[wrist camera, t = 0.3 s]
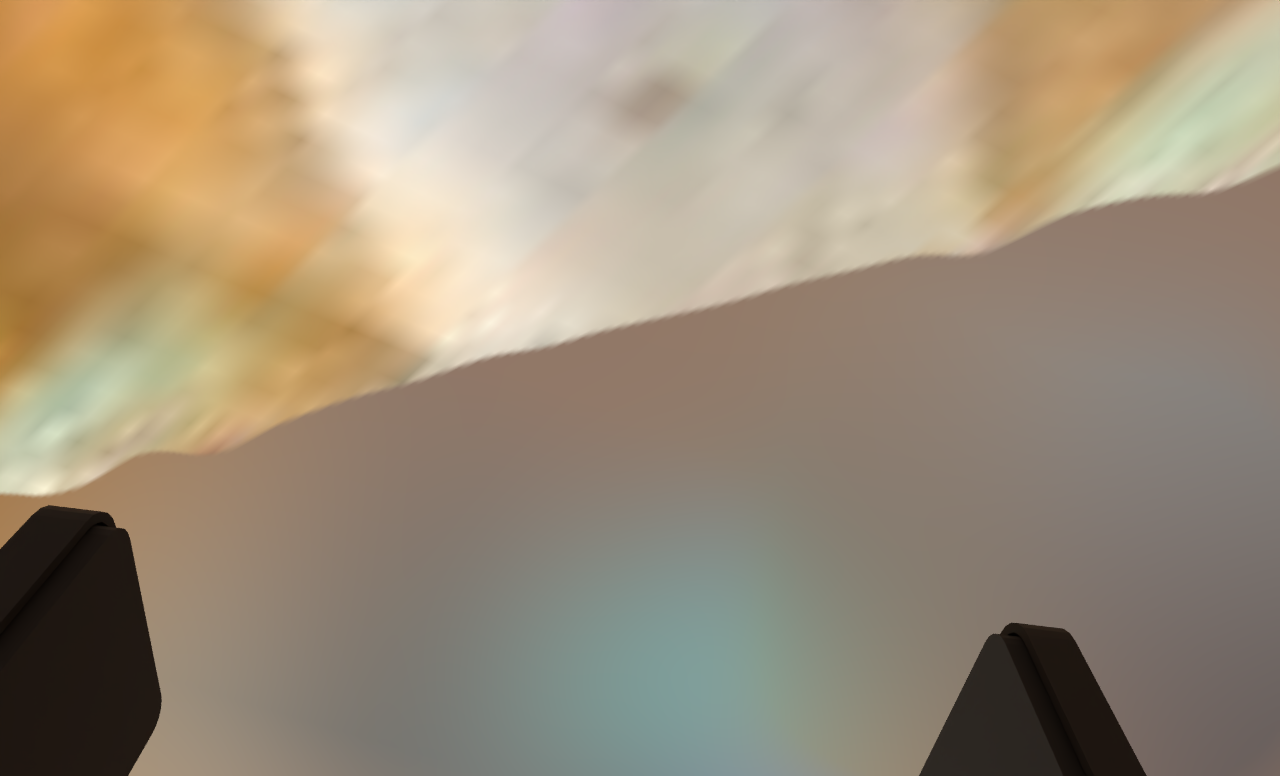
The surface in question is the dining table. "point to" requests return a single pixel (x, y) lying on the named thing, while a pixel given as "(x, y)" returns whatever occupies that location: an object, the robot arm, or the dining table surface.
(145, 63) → the dining table surface
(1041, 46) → the dining table surface
